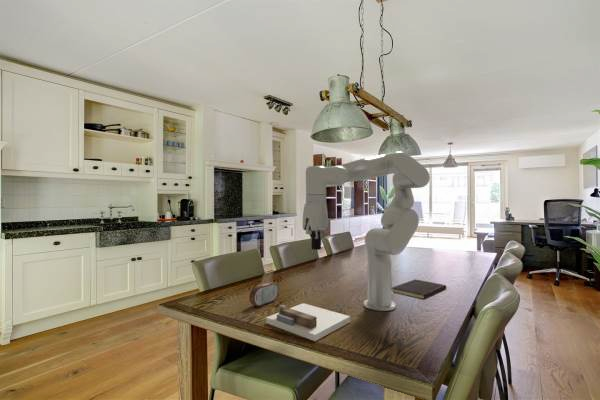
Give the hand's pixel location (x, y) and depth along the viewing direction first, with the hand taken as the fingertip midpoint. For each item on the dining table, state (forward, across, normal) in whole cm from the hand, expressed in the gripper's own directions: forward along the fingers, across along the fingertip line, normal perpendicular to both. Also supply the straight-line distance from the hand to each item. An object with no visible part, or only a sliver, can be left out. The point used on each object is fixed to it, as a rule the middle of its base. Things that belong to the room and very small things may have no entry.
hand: (316, 249), depth 116 cm
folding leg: (+23, +12, +1) cm, 26 cm away
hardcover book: (+26, -59, +16) cm, 66 cm away
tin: (+25, +2, -26) cm, 36 cm away
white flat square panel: (+25, +6, +1) cm, 26 cm away
